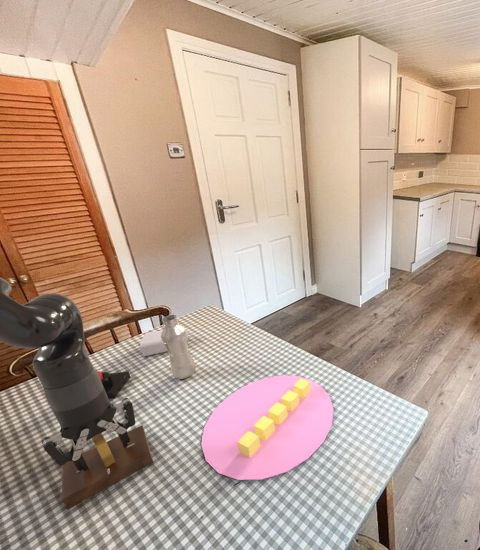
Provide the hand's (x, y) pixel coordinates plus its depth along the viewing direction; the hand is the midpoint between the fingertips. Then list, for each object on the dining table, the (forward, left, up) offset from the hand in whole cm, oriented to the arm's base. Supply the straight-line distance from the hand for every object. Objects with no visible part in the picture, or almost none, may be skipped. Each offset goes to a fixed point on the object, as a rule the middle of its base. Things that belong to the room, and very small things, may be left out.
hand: (106, 455), depth 64 cm
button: (-16, +27, 0) cm, 31 cm away
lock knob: (0, 0, -1) cm, 1 cm away
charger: (-4, +47, -4) cm, 47 cm away
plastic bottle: (+6, +29, -4) cm, 30 cm away
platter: (+33, +6, -4) cm, 34 cm away
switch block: (-16, +27, -4) cm, 32 cm away
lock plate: (0, 0, -4) cm, 4 cm away
